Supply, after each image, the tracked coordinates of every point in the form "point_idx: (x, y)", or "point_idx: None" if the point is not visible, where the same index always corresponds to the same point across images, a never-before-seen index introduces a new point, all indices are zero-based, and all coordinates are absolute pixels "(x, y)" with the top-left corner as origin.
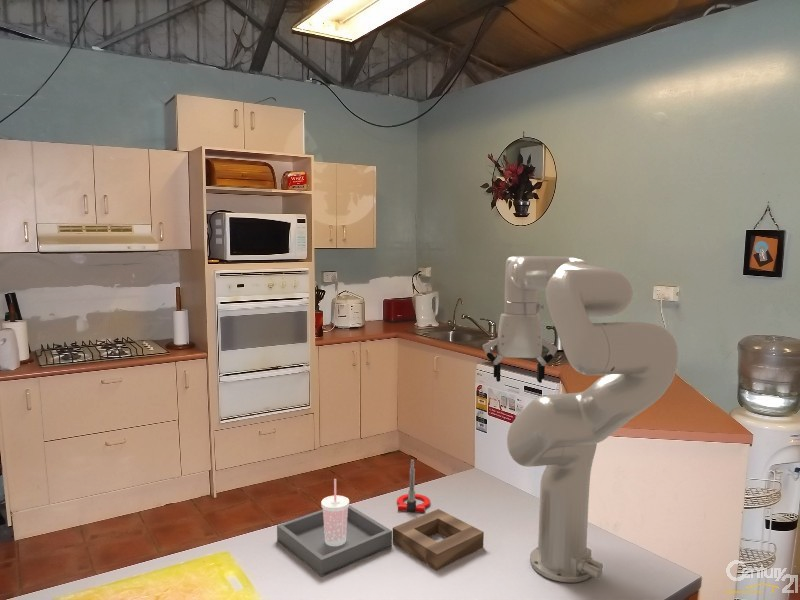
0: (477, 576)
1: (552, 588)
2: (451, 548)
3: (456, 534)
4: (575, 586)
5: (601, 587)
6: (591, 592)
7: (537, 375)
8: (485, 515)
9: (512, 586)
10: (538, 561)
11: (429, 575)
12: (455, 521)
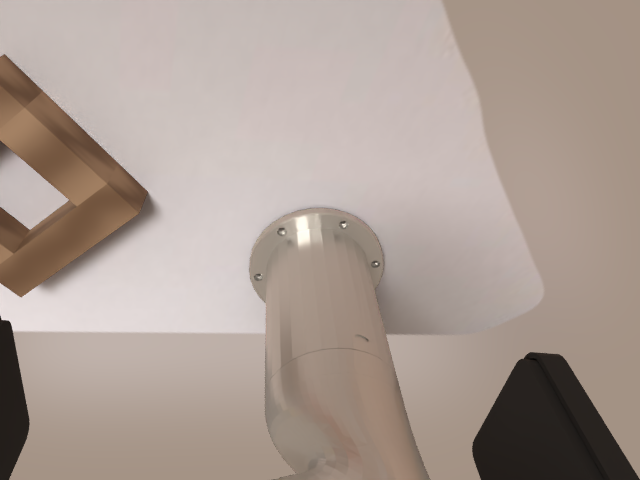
0: (127, 290)
1: None
2: (54, 272)
3: (62, 222)
4: None
5: None
6: None
7: (529, 437)
8: (169, 8)
9: (196, 316)
10: (264, 273)
11: None
12: (53, 156)
